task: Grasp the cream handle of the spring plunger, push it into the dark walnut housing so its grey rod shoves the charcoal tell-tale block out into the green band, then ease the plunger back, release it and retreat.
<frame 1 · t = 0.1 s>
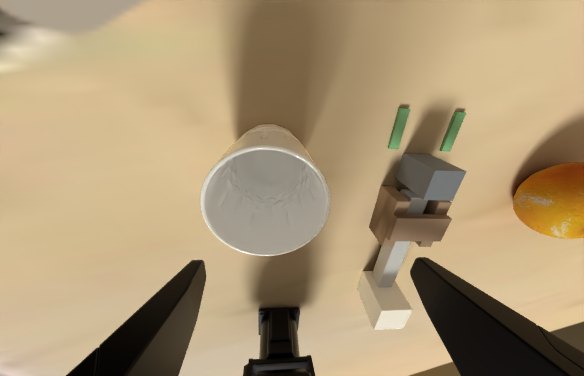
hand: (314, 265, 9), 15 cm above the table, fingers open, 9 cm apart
white cup: (269, 156, 22), on the table
plunger: (396, 261, 26), point 3 cm above the table, slide at 0.0 cm
housing: (397, 207, 26), on the table
fruit: (532, 186, 26), on the table
telltale: (411, 166, 23), on the table
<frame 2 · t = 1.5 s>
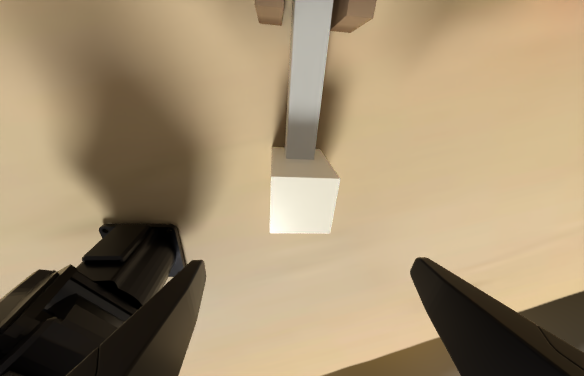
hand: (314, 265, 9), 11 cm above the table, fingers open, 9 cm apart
plunger: (307, 79, 12), point 3 cm above the table, slide at 0.0 cm
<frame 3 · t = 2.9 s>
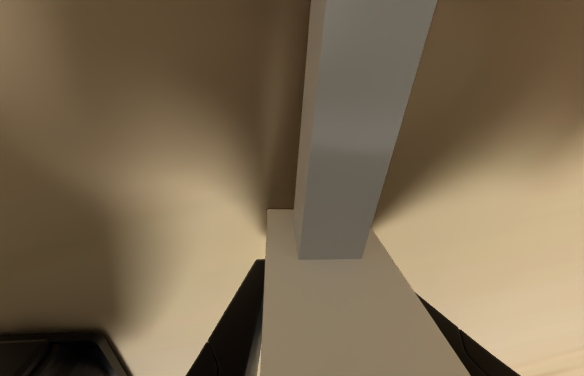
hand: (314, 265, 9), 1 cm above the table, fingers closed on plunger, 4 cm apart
plunger: (372, 75, 4), point 3 cm above the table, slide at 0.0 cm, touching gripper
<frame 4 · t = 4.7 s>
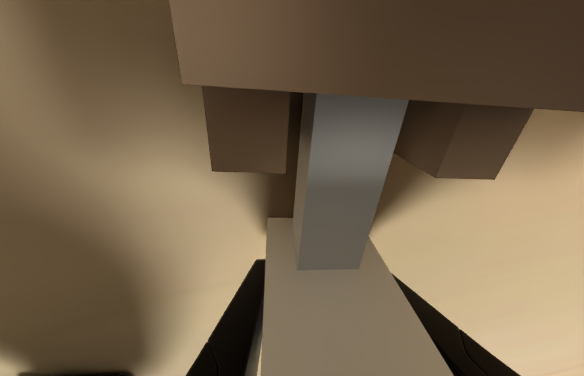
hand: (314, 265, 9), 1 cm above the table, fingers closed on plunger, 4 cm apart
plunger: (367, 100, 4), point 3 cm above the table, slide at 4.4 cm, touching gripper
housing: (338, 32, 6), on the table
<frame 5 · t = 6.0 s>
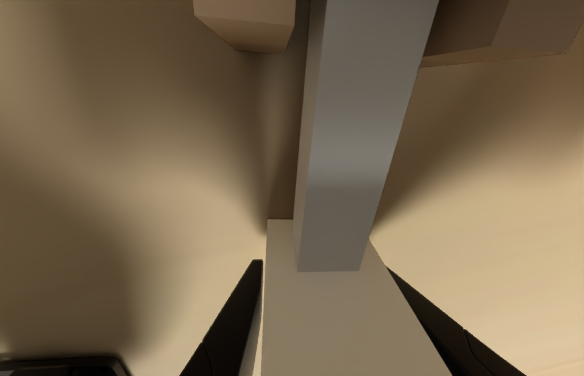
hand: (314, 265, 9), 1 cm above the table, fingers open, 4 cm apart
plunger: (367, 103, 4), point 3 cm above the table, slide at 2.0 cm
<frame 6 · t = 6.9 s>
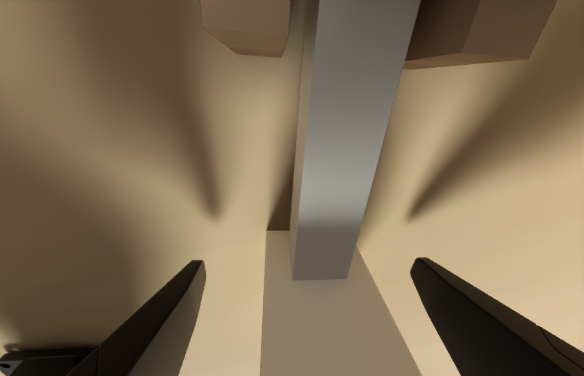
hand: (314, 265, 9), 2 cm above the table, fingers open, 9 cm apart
plunger: (347, 145, 5), point 3 cm above the table, slide at 1.0 cm
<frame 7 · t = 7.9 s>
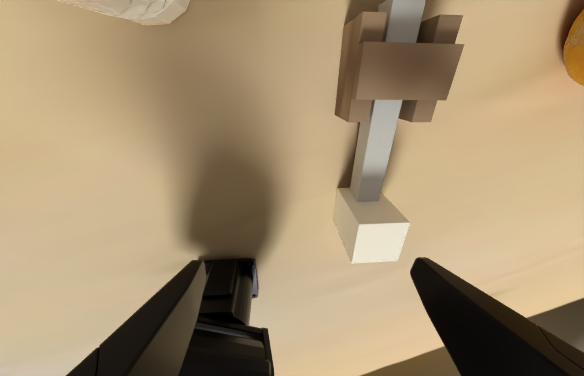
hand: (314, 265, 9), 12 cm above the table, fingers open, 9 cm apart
plunger: (380, 147, 16), point 3 cm above the table, slide at 1.0 cm
housing: (376, 74, 16), on the table
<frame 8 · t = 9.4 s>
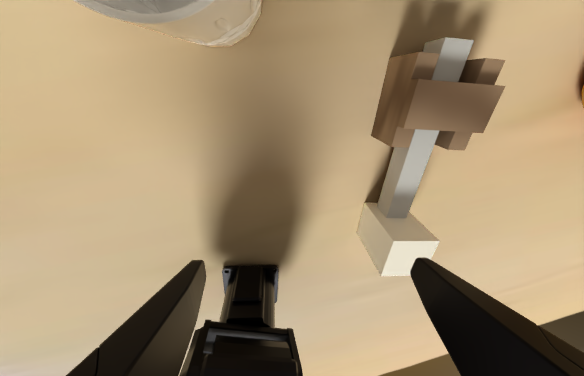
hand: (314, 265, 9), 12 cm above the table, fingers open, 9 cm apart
plunger: (415, 169, 17), point 3 cm above the table, slide at 1.0 cm
housing: (413, 102, 18), on the table
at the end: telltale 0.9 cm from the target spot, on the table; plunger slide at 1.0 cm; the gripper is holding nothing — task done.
